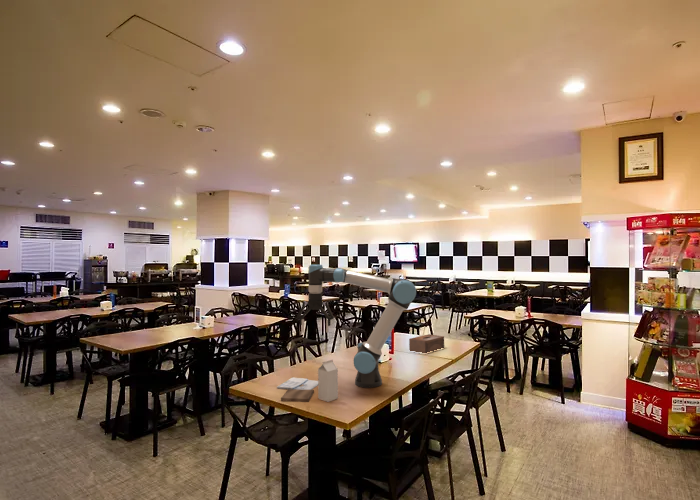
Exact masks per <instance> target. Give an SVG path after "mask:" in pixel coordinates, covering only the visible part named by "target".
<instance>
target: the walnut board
mask: <svg viewBox="0 0 700 500" xmlns="http://www.w3.org/2000/svg"><path fill="white" fill-rule="evenodd" d="M314 393H315V389H312V390H302V389H286V391H285V392H284V394H283V395H282V397H281V398H280V402H302V403H303V402H304V403H309V402H310V401H311V399H312V397H313V395H314Z"/></svg>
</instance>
